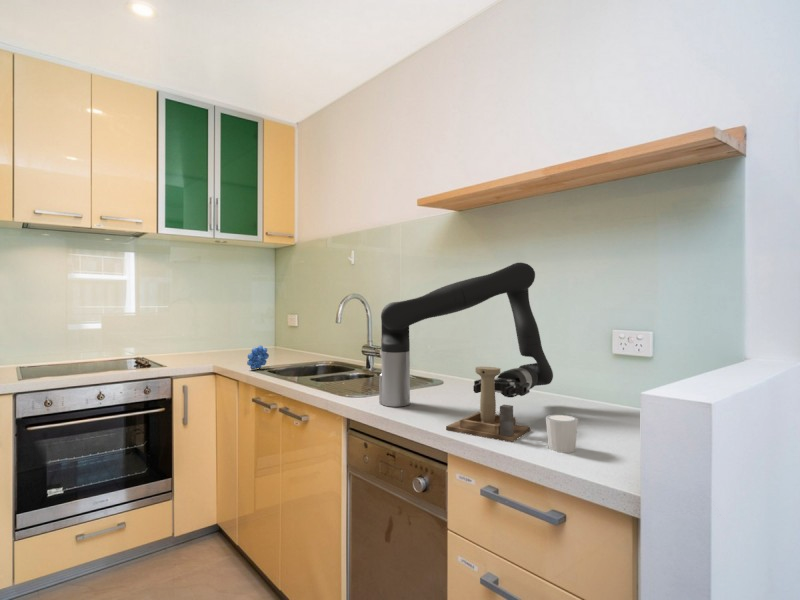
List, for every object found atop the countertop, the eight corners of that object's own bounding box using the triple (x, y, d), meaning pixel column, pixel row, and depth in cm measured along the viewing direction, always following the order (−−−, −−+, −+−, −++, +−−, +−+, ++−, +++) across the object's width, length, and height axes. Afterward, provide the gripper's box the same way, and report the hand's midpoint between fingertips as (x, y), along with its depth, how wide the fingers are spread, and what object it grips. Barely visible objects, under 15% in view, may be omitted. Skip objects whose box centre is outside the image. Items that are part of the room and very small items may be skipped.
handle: (481, 422, 122) (481, 366, 123) (503, 426, 118) (503, 368, 119) (472, 426, 119) (472, 368, 119) (494, 430, 115) (494, 370, 115)
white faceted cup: (545, 451, 101) (544, 420, 101) (546, 442, 108) (546, 413, 108) (578, 455, 99) (578, 422, 99) (578, 445, 105) (577, 415, 105)
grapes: (264, 367, 236) (264, 344, 236) (271, 368, 232) (271, 345, 232) (243, 370, 228) (242, 345, 228) (249, 371, 223) (249, 346, 223)
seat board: (446, 430, 119) (445, 399, 119) (467, 420, 129) (467, 391, 129) (512, 442, 108) (511, 408, 108) (530, 430, 118) (530, 399, 118)
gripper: (491, 367, 137) (465, 374, 124) (538, 371, 128) (515, 379, 115) (492, 392, 137) (465, 401, 124) (539, 397, 128) (516, 408, 115)
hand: (490, 390), depth 120 cm, fingers open, 8 cm apart
